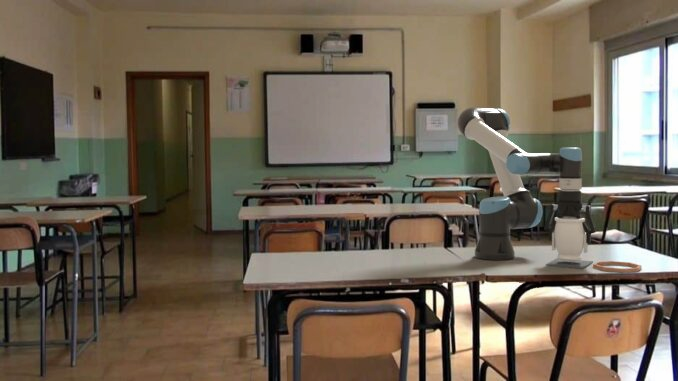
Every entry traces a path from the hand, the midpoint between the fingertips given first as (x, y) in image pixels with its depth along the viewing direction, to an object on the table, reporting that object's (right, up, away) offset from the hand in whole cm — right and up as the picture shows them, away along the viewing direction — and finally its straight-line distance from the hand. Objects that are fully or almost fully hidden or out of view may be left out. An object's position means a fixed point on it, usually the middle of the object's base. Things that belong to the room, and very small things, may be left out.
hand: (569, 251), depth 225 cm
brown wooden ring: (+13, -5, -9) cm, 17 cm away
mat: (0, -5, 0) cm, 5 cm away
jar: (0, -3, 0) cm, 3 cm away
